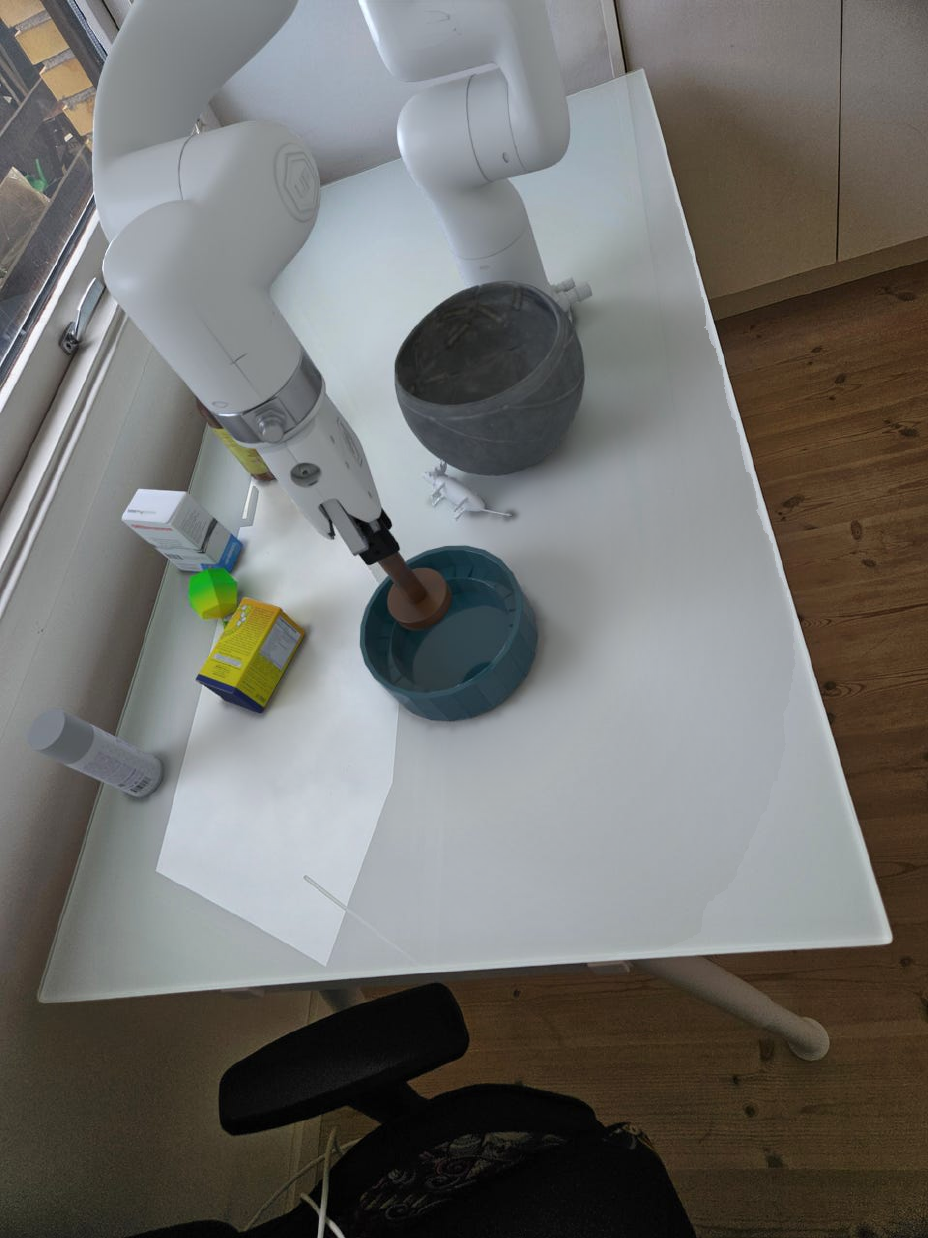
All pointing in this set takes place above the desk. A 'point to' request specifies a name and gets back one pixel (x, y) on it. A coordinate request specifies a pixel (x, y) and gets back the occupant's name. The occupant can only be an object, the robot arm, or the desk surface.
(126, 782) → the container
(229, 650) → the supplement box
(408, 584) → the wooden potato masher
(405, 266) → the desk surface
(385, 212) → the desk surface
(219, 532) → the ink box
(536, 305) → the bowl
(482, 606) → the mixing bowl
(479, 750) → the desk surface
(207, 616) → the green faceted rounded lump
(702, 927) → the desk surface
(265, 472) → the sauce bottle
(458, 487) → the white plastic figurine
